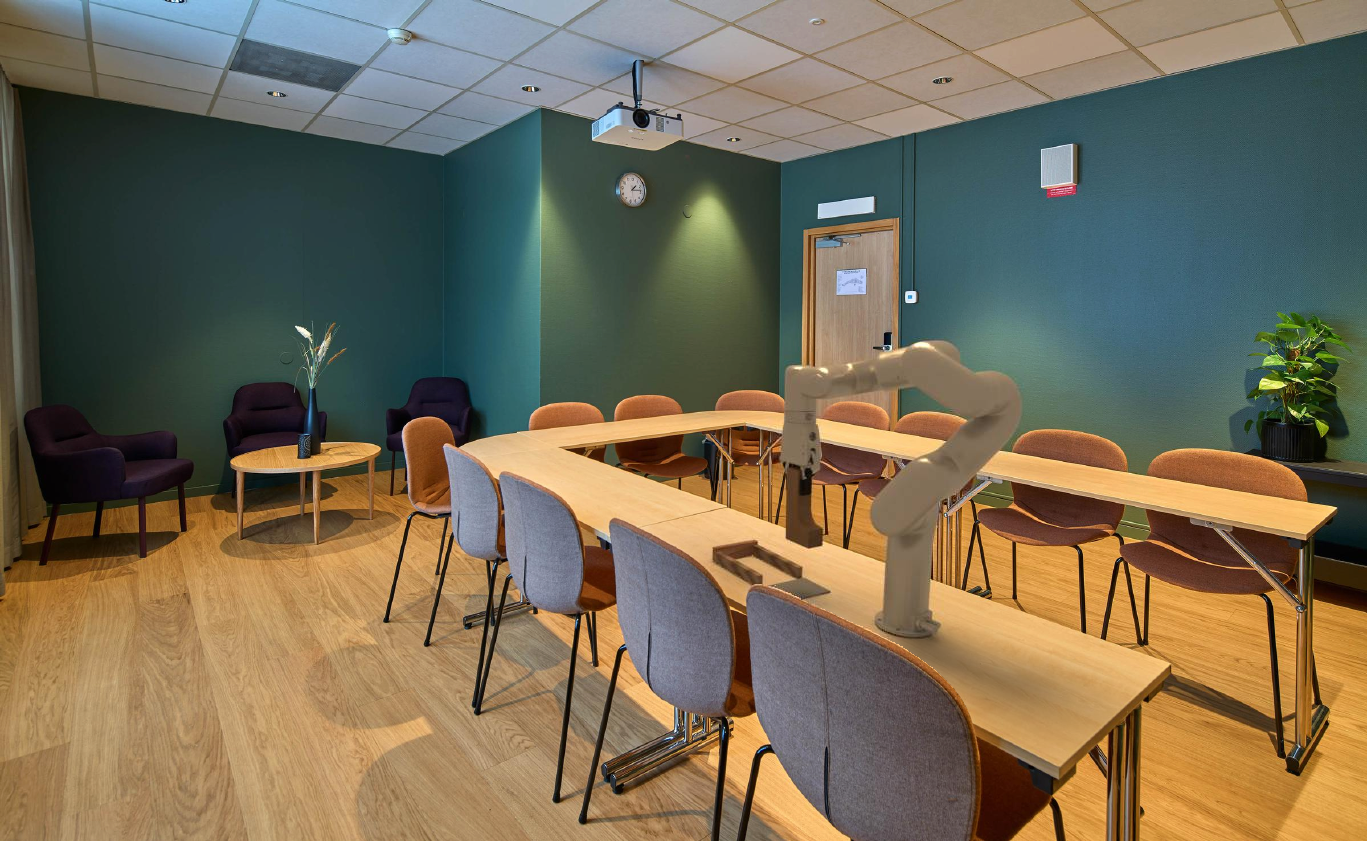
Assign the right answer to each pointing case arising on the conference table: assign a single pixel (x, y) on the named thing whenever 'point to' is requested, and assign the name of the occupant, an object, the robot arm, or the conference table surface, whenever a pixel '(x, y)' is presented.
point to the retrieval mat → (801, 588)
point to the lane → (730, 552)
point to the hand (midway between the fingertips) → (798, 491)
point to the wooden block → (800, 513)
